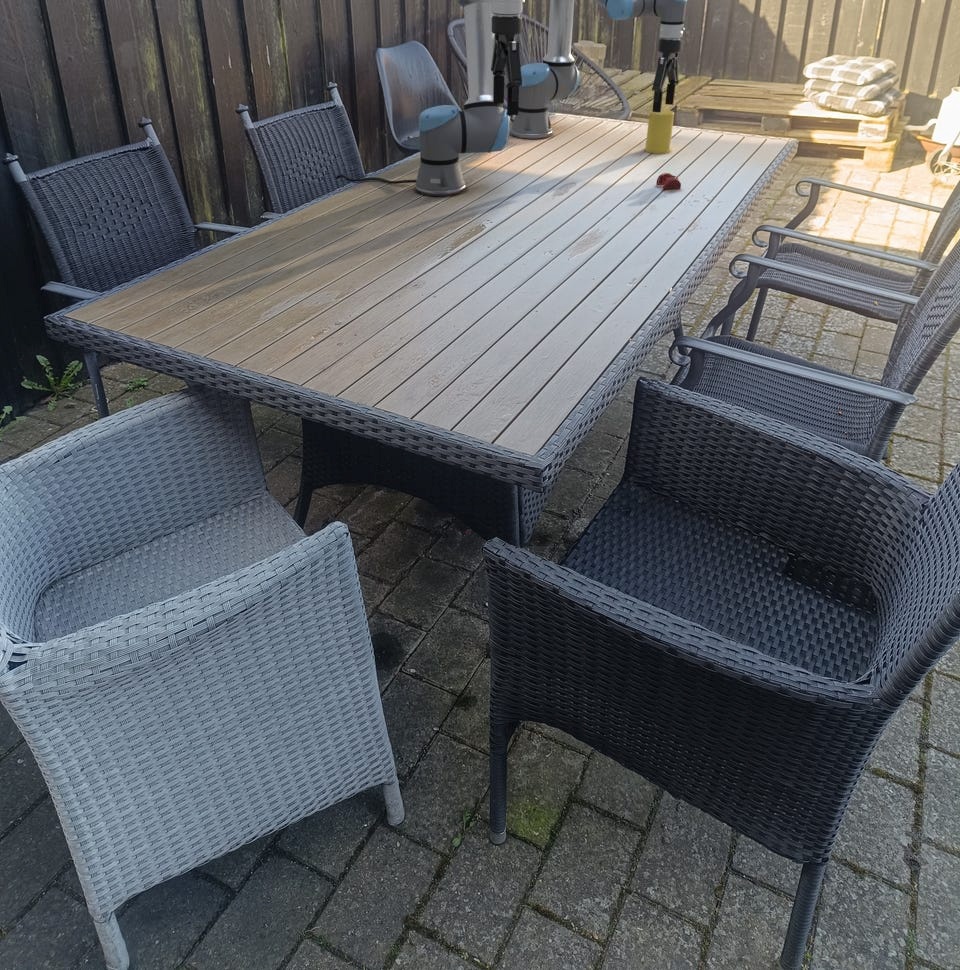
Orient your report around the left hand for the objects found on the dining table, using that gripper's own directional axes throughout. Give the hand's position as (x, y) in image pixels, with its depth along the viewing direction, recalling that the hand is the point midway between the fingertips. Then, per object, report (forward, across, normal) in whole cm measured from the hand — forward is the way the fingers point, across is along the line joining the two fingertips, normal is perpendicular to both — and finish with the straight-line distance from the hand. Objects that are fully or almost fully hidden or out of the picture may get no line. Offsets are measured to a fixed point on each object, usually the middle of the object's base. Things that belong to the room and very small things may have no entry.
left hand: (505, 109), depth 216 cm
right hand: (+16, +62, -73) cm, 97 cm away
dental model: (+30, +20, -58) cm, 68 cm away
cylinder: (+30, +62, -73) cm, 100 cm away
